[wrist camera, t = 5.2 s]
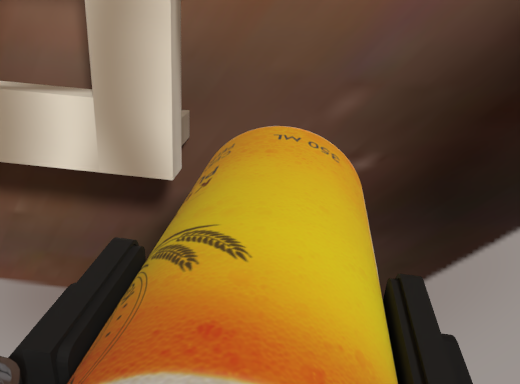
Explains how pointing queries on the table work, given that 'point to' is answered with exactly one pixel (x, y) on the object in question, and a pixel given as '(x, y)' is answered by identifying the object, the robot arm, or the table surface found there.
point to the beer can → (256, 278)
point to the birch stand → (108, 99)
